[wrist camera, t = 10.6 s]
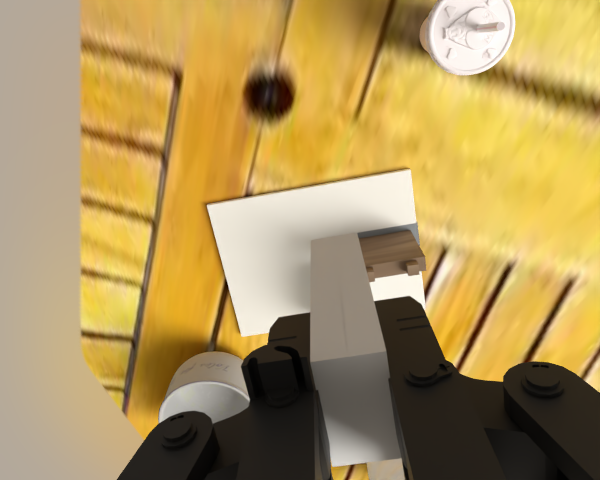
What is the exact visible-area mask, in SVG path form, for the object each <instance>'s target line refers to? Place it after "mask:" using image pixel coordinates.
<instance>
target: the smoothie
mask: <svg viewBox="0 0 600 480" xmlns="http://www.w3.org/2000/svg"><path fill="white" fill-rule="evenodd" d="M514 31H515V14H514V10H513V7H512V4H511V2H510V0H437V1H436V3H435V5H434V6H433V8H432V10H431V11H430V13H429V16H428V17H427V18H426V19H425V20H424V22H423V23H422V25H421V28H420V33H419V38H420V42H421V45H422V47H423V48H424V49H425V50H426V51H427V52H428V53H429V54H430V56H431V58H432V59H433V61H434V62H435V63H436V64H437V65H438V66H439V67H440V68H442V69H443V70H445V71H446V72H449V73H452V74H456V75H472V74H477V73H480V72H483V71H485V70H487V69H489V68H490V67H492V66H493V65H495V64H496V63H497V62H498V61H499V60H500V59H501V58H502V57H503V56H504V54H505V53H506V51H507V50H508V48H509V46H510V44H511V42H512V39H513V35H514Z"/></svg>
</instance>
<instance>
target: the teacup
mask: <svg viewBox="0 0 600 480" xmlns="http://www.w3.org/2000/svg"><path fill="white" fill-rule="evenodd" d="M242 363H243V360H242V359H240V358H239V357H237V356H235V355H232V354H229V353H225V352H217V351H213V352H205V353H201V354H198V355H195V356H193V357H191V358H190V359H188V360H187V361H185V362H184V363H183V364H182V365H181V366H180V367H179V368H178V370H177V371H176V373H175V374H174V376H173V378H172V380H171V383H170V385H169V388H168V390H167V393H166V396H165V399H164V401H163V403H162V405H161V407H160V409H159V418H158V421H159V423H160V422H162V421H164V420H165V419H167V418H168V417H170V416H173V415H175V414H178V413H181V412H186V411H199V412H204V413H205V414H207V415H208V416H209V417H210V418H211V420H212V423H216V422H218V421H221V420H224V419H226V418H229V417H231V416H234V415H236V414H238V413H240V412H241V411H243V410H244V409H246V408H247V407H249V402H250V399H249V395H248V391H247V388H246V384H245V380H244V377H243V373H242V370H241V365H242Z"/></svg>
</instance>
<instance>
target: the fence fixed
mask: <svg viewBox="0 0 600 480" xmlns="http://www.w3.org/2000/svg"><path fill="white" fill-rule="evenodd" d="M359 242H360V246H361V251H362V255H363V259H364V263H365V267H366V271H367V275H368V279H369V282H375V278H381V277H388V276H394V275H400V274H408V276H413V275H420V274H419V271H426V262H425V256H424V254H423V252H422V250H421V248H420V247H419V245H418V243H417V241H416V239H415V237H414V236H413V234H412V232H411V230H407V231H401V232H395V233H389V234H383V235H377V236H371V237H365V238H359Z"/></svg>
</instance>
